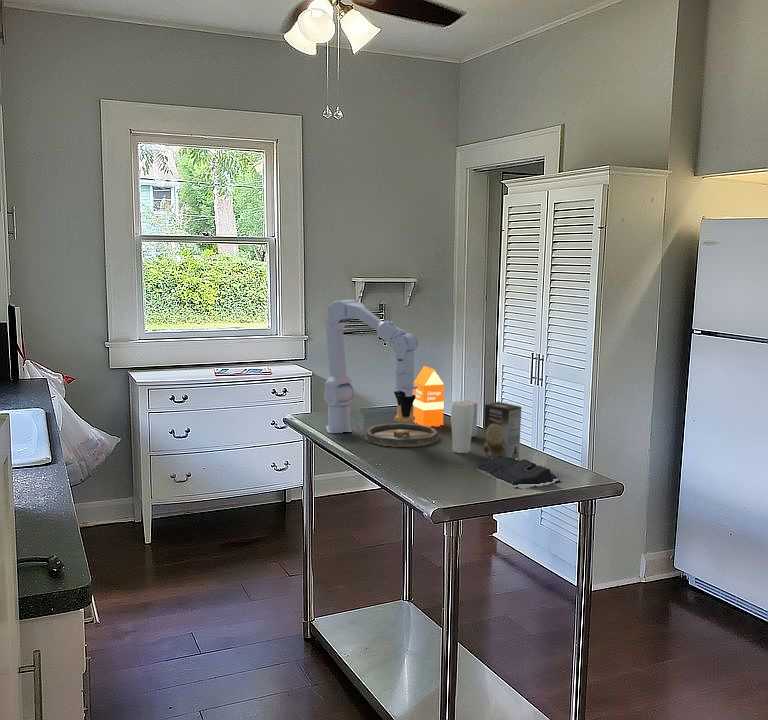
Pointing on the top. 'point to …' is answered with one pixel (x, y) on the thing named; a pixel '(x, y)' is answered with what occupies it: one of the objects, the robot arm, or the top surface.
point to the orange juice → (428, 398)
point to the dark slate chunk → (517, 471)
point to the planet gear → (400, 417)
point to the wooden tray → (401, 435)
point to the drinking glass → (462, 425)
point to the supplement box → (474, 421)
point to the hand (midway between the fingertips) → (404, 415)
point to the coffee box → (502, 430)
